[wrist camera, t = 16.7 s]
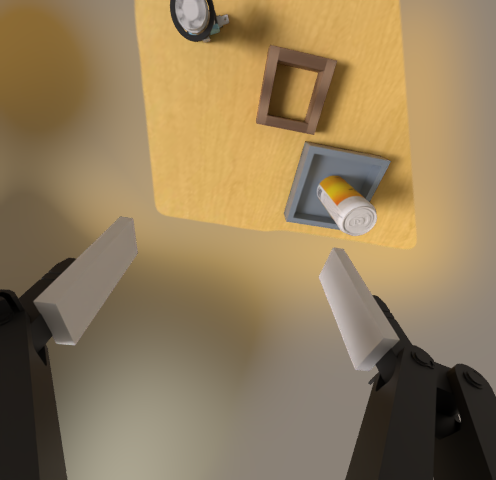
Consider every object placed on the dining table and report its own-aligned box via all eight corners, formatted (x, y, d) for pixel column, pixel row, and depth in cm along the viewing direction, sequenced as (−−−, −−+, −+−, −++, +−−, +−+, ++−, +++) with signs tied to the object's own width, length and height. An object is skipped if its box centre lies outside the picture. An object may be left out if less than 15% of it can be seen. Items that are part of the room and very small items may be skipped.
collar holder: (268, 48, 35) (270, 44, 32) (330, 63, 36) (337, 60, 34) (255, 121, 41) (256, 123, 38) (309, 132, 42) (314, 134, 39)
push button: (223, -4, 32) (215, -37, 24) (233, 43, 35) (229, 28, 27) (181, 11, 33) (159, -16, 25) (194, 56, 36) (178, 45, 28)
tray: (305, 141, 43) (310, 145, 40) (380, 156, 45) (391, 161, 41) (283, 213, 52) (286, 221, 49) (347, 223, 53) (353, 231, 50)
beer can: (343, 198, 49) (376, 235, 36) (315, 203, 49) (338, 240, 37) (345, 172, 46) (382, 201, 33) (315, 176, 46) (341, 207, 34)
